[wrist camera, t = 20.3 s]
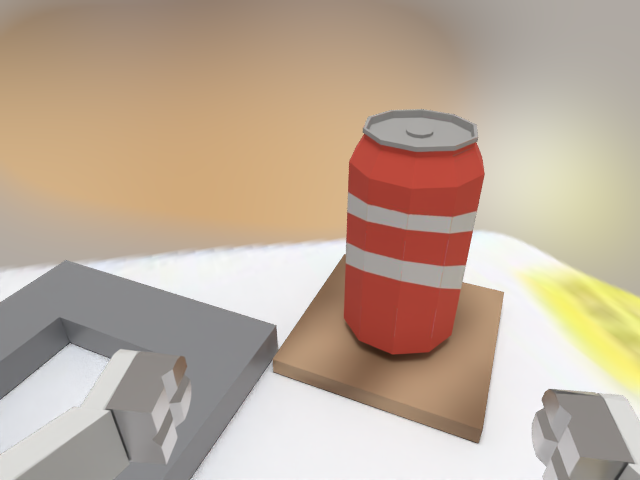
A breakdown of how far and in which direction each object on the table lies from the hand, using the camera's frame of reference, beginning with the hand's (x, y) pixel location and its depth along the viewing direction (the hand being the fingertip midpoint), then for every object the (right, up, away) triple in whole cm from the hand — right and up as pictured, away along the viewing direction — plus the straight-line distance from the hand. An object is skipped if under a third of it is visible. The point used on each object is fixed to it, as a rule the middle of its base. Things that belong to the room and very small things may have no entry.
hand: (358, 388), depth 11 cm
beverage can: (+4, -2, +17) cm, 17 cm away
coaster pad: (+4, -2, +18) cm, 18 cm away
